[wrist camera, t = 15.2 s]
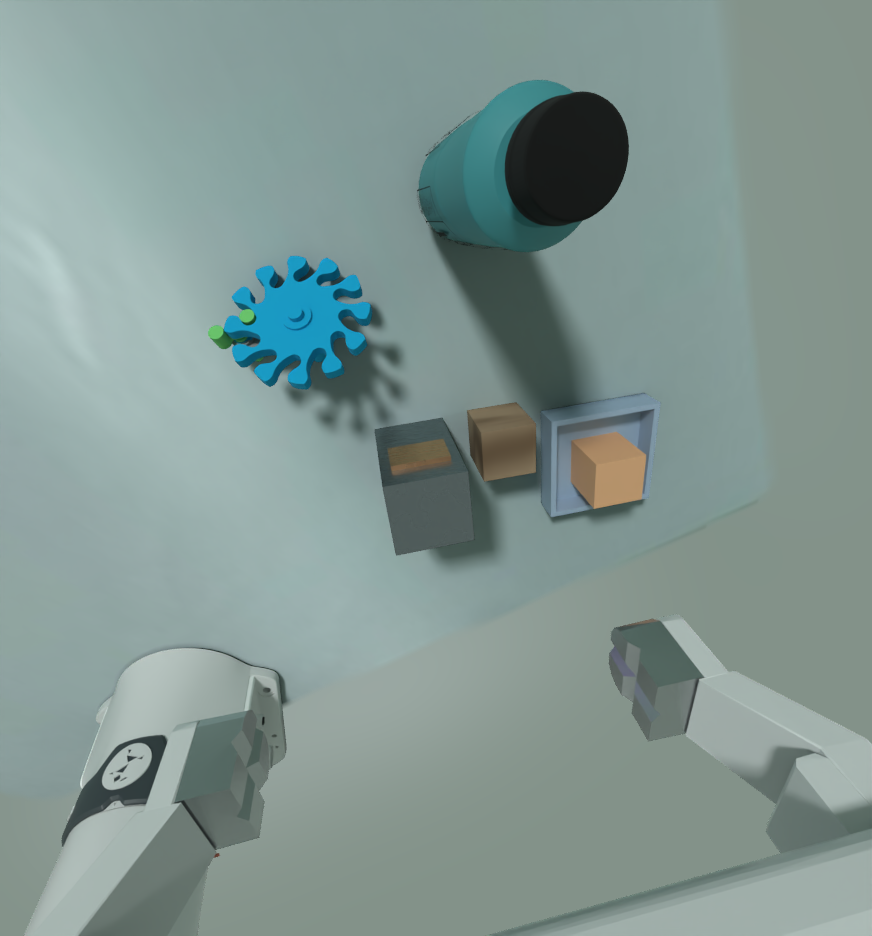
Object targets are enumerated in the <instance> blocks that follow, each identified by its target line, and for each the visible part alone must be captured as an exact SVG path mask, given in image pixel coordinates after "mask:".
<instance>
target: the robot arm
mask: <svg viewBox="0 0 872 936" xmlns="http://www.w3.org/2000/svg"><path fill="white" fill-rule="evenodd" d="M611 641H612V642H613V644H614V646H615V647H614V648H613V649H612V650H611V652H610V653H609V665H610V670H611V674H612V677H613V679H614V682H615V684H616V686H617V688H618V690H619V691H620V693H621V695H622V696H624V697H626V698H627V699H629V700H630V701H632V702H633V708H632V714H633V716H634V717H635V719H636V721H637V723H638V724H639V726H640V728H641V730H642V731H643V733H644V735H645V736H646V738H647V740H648V741H652V740H657V739H661V738H666V737H671V736H676V735H680V734H685V733H686V736H687V737H688V738H690V739H691V740H692V741H694V742H695V743H696V744H697V745H699V746H700V747H701V748H703V749H704V750H705V751H707V752H708V753H709V754H711V755H712V756H713V757H715V758H716V759H717V760H719V761H720V762H721V763H722V764H724V765H725V766H726V767H728V768H729V769H731V770H732V771H733V772H734V773H736V774H737V775H738V776H740V777H741V778H742V779H744V780H745V781H746V782H748V783H749V784H750V785H752V786H753V787H754V788H756V789H757V790H758V791H760V792H761V793H762V794H763V795H765V796H766V797H767V798H769V799H770V800H771V801H773V802H774V803H775V804H776V805H775V808H774V810H773V812H772V814H771V817H770V819H769V821H768V824H767V829H766V832H767V834H768V836H769V837H770V839H771V840H772V842H773V843H774V844H775V846H776V847H777V849H778V850H779V852H780V853H781V854H777V855H774V856H770V857H767V858H763V859H760V860H756V861H752V862H749V863H745V864H741V865H738V866H734V867H731V868H727V869H723V870H720V871H716V872H713V873H709V874H706V875H702V876H698V877H695V878H691V879H688V880H684V881H681V882H677V883H673V884H670V885H666V886H663V887H659V888H655V889H652V890H648V891H644V892H641V893H638V894H634V895H630V896H626V897H623V898H619V899H616V900H612V901H608V902H605V903H601V904H598V905H594V906H591V907H587V908H583V909H580V910H576V911H573V912H569V913H565V914H562V915H558V916H555V917H551V918H547V919H544V920H540V921H537V922H533V923H530V924H526V925H523V926H519V927H515V928H512V929H508V930H504V931H501V932H497V933H494V934H490V935H487V936H872V744H871V743H870V742H869V741H868V740H867V739H866V738H864V737H862V736H860V735H858V734H856V733H854V732H852V731H850V730H849V729H847V728H845V727H843V726H841V725H839V724H837V723H835V722H833V721H831V720H829V719H827V718H825V717H823V716H822V715H819V714H818V713H815V712H814V711H812V710H810V709H808V708H806V707H804V706H802V705H800V704H798V703H796V702H794V701H792V700H790V699H789V698H786V697H785V696H783V695H781V694H779V693H777V692H775V691H773V690H771V689H769V688H767V687H765V686H763V685H761V684H759V683H758V682H756V681H754V680H752V679H750V678H748V677H746V676H744V675H742V674H740V673H738V672H736V671H731V672H728V671H727V670H726V668H725V667H724V666H723V665H722V664H721V662H720V661H719V660H718V659H717V658H716V657H715V655H714V654H713V653H712V652H711V651H710V650H709V648H708V647H707V646H706V645H705V644H704V643H703V641H702V640H701V639H700V638H699V637H698V636H697V634H696V633H695V632H694V631H693V630H692V628H691V627H690V626H689V625H688V624H687V623H686V621H685V620H684V619H683V618H682V617H681V616H679V615H677V614H675V615H669V616H665V617H661V618H656V619H650V620H645V621H641V622H637V623H633V624H629V625H624V626H620V627H616V628H614V629H613V631H612V632H611ZM96 721H97V722H98V723H99V724H100V728H99V731H98V733H97V736H96V739H95V741H94V744H93V747H92V750H91V752H90V755H89V758H88V761H87V763H86V766H85V769H84V772H83V775H82V778H81V782H80V785H81V788H83V789H82V791H81V793H80V795H79V798H78V800H77V802H76V804H75V805H74V806H73V808H72V810H71V812H70V815H69V817H68V820H67V822H68V823H67V825H66V828H65V831H64V833H63V836H62V847H63V848H62V851H61V853H60V855H59V857H58V859H57V862H56V864H55V866H54V869H53V871H52V873H51V875H50V878H49V880H48V882H47V884H46V886H45V889H44V891H43V893H42V895H41V898H40V900H39V902H38V904H37V907H36V909H35V911H34V914H33V916H32V918H31V920H30V922H29V925H28V927H27V929H26V931H25V934H24V936H197V935H198V928H199V920H200V912H201V905H202V899H203V892H204V886H205V881H206V876H207V870H208V866H209V865H210V863H211V861H212V859H213V858H214V857H218V856H219V853H217V854H216V851H215V850H217V849H221V848H224V847H228V846H231V845H235V844H238V843H242V842H245V841H249V840H253V839H257V838H259V835H260V829H261V822H262V814H263V808H264V800H263V798H262V796H261V794H260V792H259V790H260V789H261V787H262V786H263V785H264V783H265V781H266V780H267V779H268V772H269V771H268V770H269V769H270V768H272V766H273V765H275V764H276V763H278V762H279V761H281V760H282V759H283V758H284V757H285V753H286V739H285V729H284V720H283V711H282V701H281V692H280V683H279V676H278V674H277V673H276V672H275V671H272V670H269V669H265V668H260V667H254V666H249V665H247V664H245V663H243V662H241V661H239V660H237V659H235V658H233V657H231V656H228V655H226V654H223V653H219V652H216V651H211V650H206V649H197V648H180V649H171V650H165V651H161V652H157V653H154V654H151V655H148V656H146V657H144V658H142V659H140V660H138V661H136V662H135V663H133V664H132V665H131V666H129V667H128V668H127V669H126V670H125V671H124V672H123V674H122V675H121V676H120V678H119V680H118V682H117V685H116V689H115V692H114V694H113V695H112V696H111V697H110V698H109V699H108V700H107V701H105V702H104V703H103V704H102V705H101V706H100V708H99V710H98V713H97V716H96Z"/></svg>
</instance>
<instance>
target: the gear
mask: <svg viewBox="0 0 872 936" xmlns="http://www.w3.org/2000/svg"><path fill="white" fill-rule="evenodd" d="M287 264H288V269H289V271H288V276H287V278H286V280H285V282H284V283H283V285H282V286H281V287H279V288H274V287H275V285H276V284H277V282H278V276H277V274H276V272H275V270H274V268H273V267H272V266H265V267H262V268H260V269H258V270H256V276H257V278H258V280H259V281H260V283H261V284H262V286H264V288H265V299H264V301H263V302H262V303H259V304H255V298H254V296H253V295H252V293H251V292H250V290H249V289H248V288H246V287H242V288H240V289H239V290H238V291H237V292H236V293H235V294H234V295H233V296H232V299H233V300H234V302H235V303H236V305H237V306H238V307H239V308H240V309H242V310H243V311H242V312H241V313H240V315H239V318H240V319H239V318H238V317H237V316H229V317H228V318H227V320H226V323H225V326H224V329H223V328H222V327H221V326H218V325H216V326H213V327H211V328H210V329H209V331H208V335H209V337H210V338H211V339H212V340H213V341H214V342H215V343H216V344H217V345H218V346H219V348H221V349H227V348H229V347H230V346H231V344H233V345H234V347H233V348H232V352H233V356H234V359H235V361H236V362H237V363H238V364H239V366H240V367H248V366H249V365H251V364H252V363H253V362H254V361H257V362H259V361H261V360H262V359H263V357H265V356H272V355H276V356H277V358H276V359H275V361H273V362H271V363H265V364H260V365H259V366H257V367H256V368H255V370H254V372H255V374H256V375H257V376H258V377H259V378H260V380H261V381H262V382H263V383H265V384H266V385H268V386H269V387H271V386H273V385H274V384H275V383H276V382H277V380H278V377H279V375H280V373H281V372H282V370H283V369H284V368H285V367H287V366H288V365H289V364H291V363H293V362H294V361H298V360H299V361H301V364H300V365H299V366H298V367H297V368H295V369H294V370H292V371H291V372H290V373H289V375H288V382H289V383H290V384H291V385H292V387H294V388H298V389H309V388H310V386H311V378H310V369H311V366H312V364H313V362H314V361H316V362H322V361H323V360H324V361H323V363H322V370H323V372H324V373H325V375H326V377H327V378H328V379H330V378H335V377H338V376H340V375H343V374H344V367H343V365H342V363H341V361H340V360H339V359H338V358H337V357H336V356H335V355H334V349H333V344H334V341H335V340H336V339H337V338H341V337H342V338H345V339H346V345H347V347H348V349H349V352H350V353H351V354H352V355H355V356H357V355H358V354H360V353H361V352H362V351H363V350H364V349H365V348H366V346H367V342H366V339H365V337H364V335H363V334H361V333H359V332H354V331H351V330H349V329H347V328H346V327H345V326H344V325H343V324H342V323H341V321H342V319H343V318H344V317H346V316H351V317H353V318H354V319H355V320H356V321H357V323H358V324H360V325H362V326H367V325H369V323H370V321H371V318H372V309H371V305H370V304H369V303H367V302H361V303H358V304H345V303H341V302H339V301H336V300H337V298H338V297H340V296H347V297H350V298H354V299H355V298H359V297H361V296H362V289H361V286H360V283H359V280H358V278H357V276H356V275H350V276H348V277H347V278H346V279H344V280H343V281H342V282H340V283H338V284H335V285H332V286H320V285H321V284H322V283H323V282H327V281H334V280H336V279H338V278H339V276H340V272H339V269H338V266H337V265H336V264H335V263H334V262H333V261H332V260H330V259H328V258H325V259H323V260H322V261H321V262H320V264H319V267H318V269H317V271H316V272H315V273H314V274H313V275H312V276H311V277H309V278H308V279H306V280H304V281H302V282H298V280H299V279H300V278H302V277H303V276H305V275H306V274H307V273H308V272H309V265H308V263H307V261H306V259H305V258H303V257H300V256H290V257H289V259H288V261H287ZM325 354H326V355H325ZM325 356H326V358H325Z"/></svg>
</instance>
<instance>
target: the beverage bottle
mask: <svg viewBox="0 0 872 936" xmlns="http://www.w3.org/2000/svg"><path fill="white" fill-rule="evenodd" d="M478 112H479V111H478ZM467 118H468V117H467ZM467 118H466V119H467ZM466 119H465V120H466ZM465 120H464V121H465ZM458 126H459V125H458ZM458 126H457V127H458ZM457 127H456V128H457ZM450 133H451V132H450ZM450 133H449V134H450ZM449 134H447V135H449ZM447 135H446V136H447ZM444 136H445V135H444ZM444 136H443V137H444ZM441 139H443V138H441ZM437 143H438V142H437ZM435 144H436V143H435ZM435 144H434V146H435ZM429 152H430V151H429ZM628 154H629V143H628V135H627V130H626V126H625V123H624V121H623V119H622V117H621V115H620V113H619V112H618V110H617V109H616V108H615V107H614V106H613V104H611V103H610V102H609V101H608V100H606V99H605V98H603V97H601V96H599V95H597V94H594V93H590V92H573V91H571V90H570V89H568V88H567V87H565V86H563V85H561V84H558V83H555V82H551V81H547V80H532V81H526V82H522V83H519V84H516V85H514V86H512V87H510V88H508V89H506V90H505V91H503V92H502V93H500V94H499V95H497V96H496V97H495V98H494V99H493V100H492V101H490V103H489V104H488V105H487V106H486V107H485V108H484V109H483V110H482V111H480V112H479V113H478V114H477V115H475V116H474V117H473V118H472V119H470V120H468V121H467V122H465V123H464V124H463V125H461V126H460V127H459V128H457V129H456V130H455V131H454V132H453V133H451V134H450V135H449V136H448V137H447V138H446V139H444V140H443V141H442V142H441V143H440V144H438V145H437V146H436V147H435V148H434V149H433V150H432V151H431V152H430V153H429V156H428V157H427V159H426V161H425V163H424V165H423V168H422V171H421V174H420V180H419V189H418V190H417V191H419V198H420V205H421V207H422V208H421V207H420V206H419V207H420V208H421V209H422V210H423V211H422V210H421V211H422V212H421V213H423V214H424V215H425V217H426V219H427V220H428V221H426V223H427V222H429V223H430V225H431V226H432V227H433V228H434V229H435V230H436V231H437V233H438V234H439V236H440V237H441V236H444V237H446V238H448V240H450V239H451V240H455V242H456V241H459V242H460V241H461V242H463V243H464V242H466V243H467V244H468V243H472V244H478V245H484V246H487V247H488V246H490V248H491V247H493V248H495V247H503V248H505V249H504V250H506V249H507V250H508V249H509V250H512V251H518V252H533V251H539V250H543V249H546V248H548V247H551V246H553V245H555V244H557V243H558V242H560V241H562V240H563V239H564V238H566V237H567V236H568V235H570V234H571V233H572V232H573V231H574V230H575V229H576V228H577V227H578V225H579V224H580V223H581V222H582V221H583V220H585V219H588V218H590V217H591V216H593V215H595V214H596V213H598V212H599V211H600V210H601V209H603V208H604V207H605V206H606V205H607V204H608V203H609V202H610V200H611V199H612V198H613V196H614V195H615V193H616V192H617V190H618V188H619V186H620V184H621V182H622V180H623V177H624V174H625V171H626V167H627V162H628ZM427 155H428V154H427ZM427 155H426V156H427ZM417 198H418V197H417ZM418 204H419V203H418ZM457 244H458V242H457ZM461 244H462V243H461ZM462 245H466V244H462ZM470 245H471V244H470ZM467 246H468V245H467ZM473 247H474V246H473ZM484 249H485V248H484ZM486 249H487V248H486Z"/></svg>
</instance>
